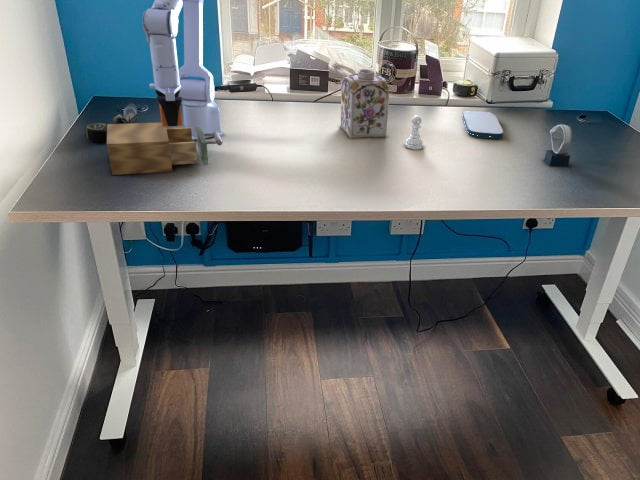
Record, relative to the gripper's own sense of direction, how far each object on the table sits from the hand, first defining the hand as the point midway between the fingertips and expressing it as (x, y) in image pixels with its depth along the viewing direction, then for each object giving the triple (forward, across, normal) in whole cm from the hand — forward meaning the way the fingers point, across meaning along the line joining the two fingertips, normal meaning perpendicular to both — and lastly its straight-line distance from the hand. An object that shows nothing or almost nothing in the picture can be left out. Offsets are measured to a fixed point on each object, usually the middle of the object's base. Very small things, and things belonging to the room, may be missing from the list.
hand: (171, 122), depth 148 cm
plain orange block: (0, 0, 0) cm, 0 cm away
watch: (+10, +19, +103) cm, 105 cm away
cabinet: (+10, 0, -8) cm, 13 cm away
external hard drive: (+10, -14, +96) cm, 98 cm away
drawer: (+9, 0, +3) cm, 9 cm away
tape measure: (+10, -19, -17) cm, 27 cm away
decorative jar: (+10, -16, +56) cm, 59 cm away
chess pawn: (+10, 0, +66) cm, 67 cm away
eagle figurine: (+10, -27, -11) cm, 30 cm away
